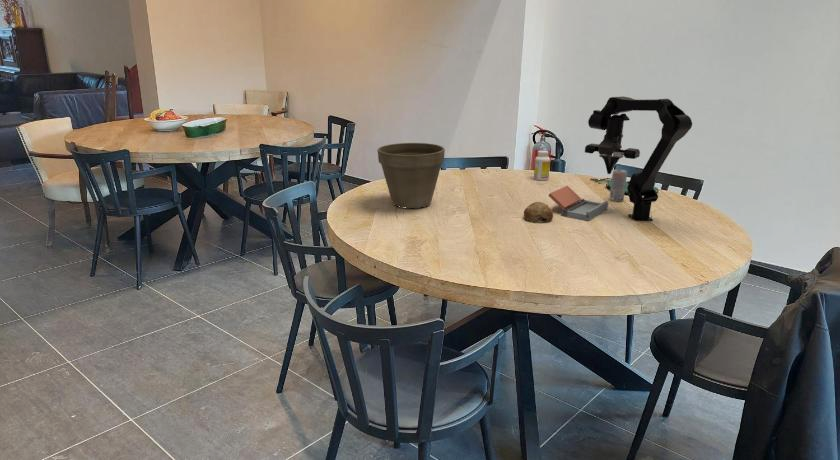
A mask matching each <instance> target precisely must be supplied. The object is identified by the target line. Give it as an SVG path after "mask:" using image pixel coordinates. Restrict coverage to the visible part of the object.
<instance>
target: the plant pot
mask: <svg viewBox="0 0 840 460" xmlns="http://www.w3.org/2000/svg"><path fill="white" fill-rule="evenodd" d="M445 151H446V149H445V147H444V146H442V145H439V144H435V143H434V144H433V143H427V142H426V143H425V142H401V143H391V144H387V145H382V146H380V147H379V148H377V151H376V152H377V159H378V163H379V164H380V165H381V168H382V173H383V175H384V179H385V182H386V185H387V189H388V192H389V195H390V199H391V202H392V205H394V204H395V205H397V206H400V207H406V208H418V209H422V208H421V207H424V208H427V207H428V206H430V205H431V204H432V201H433V198H434V194H435V190H436V186H437V183H438V178H439V174H440V170H441V167H442V164H443V163H444V161H445V153H446V152H445ZM395 205H394V206H395ZM397 206H396V207H397ZM426 206H427V207H426Z"/></svg>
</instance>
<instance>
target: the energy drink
mask: <svg viewBox="0 0 840 460" xmlns="http://www.w3.org/2000/svg"><path fill="white" fill-rule="evenodd" d="M611 175H612V176H611V178H612V182H611V181H610V182H611V188H610V189H609V190H610V192H609V198H608V199H609V200H610V201H611V202H617V203H621V202H623V201H624V198H625V194H626V193H625V185H626V181H627V176H628V172H627V170H626V169H619V168H618V169H617V168H616V169H613V170H612V173H611Z"/></svg>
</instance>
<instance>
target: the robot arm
mask: <svg viewBox="0 0 840 460" xmlns="http://www.w3.org/2000/svg"><path fill="white" fill-rule="evenodd" d="M592 111H593V112H592V114H591V115H590V117H589V118H588V121H587V123H588V127H589V128H591V129H595V130H599V131H600V130H601V131H605V134H604V136H603V139H602V141H601V142H600V143H589V144H586V146H585V147H584V153H586V154H594V153H595V152H598V154H599V157H600V158H601V159H602V160H603V161H604V164H605V168H606V173H607V175H612V173H613V171H614V168H615V167H616V164H617V163H618V162H619V160H620V159H622V158H625V159H633V160H634V159H637V158H639V157H641V156H640V155H641V151H640V149H639V148H633V147H632V148H631V147H628V148H626V149H622V147H623V146H622V140H623V139H622V138H624V134H623V133H624V131H623V130H624V122H626V121H630V117H629V116H628V115H627V114H626V113H628V112H632V111H637V112H638V111H649V112H653V111H654V112H655V111H656V113H657V115H658V119H659V121H660V122H661V124H662V128H661V137H660V139H659V141H658V143H657V144H656V146H655V148H654V149H653V151H652V153H651V155H650V157H649V158H648V159H647V162H646V163H645V165H644V167H643V168H642V170H641V171H640V172H637V173H632V175H631V177H630V179H629V182H628V187H627V190H628V193H629V194H628V199H629V202H630V203H632V204H633V209H632V213H629V214H628V217H630V218H631V219H632V220H634V221H638V222H640V221H642V222H643V221H648V222H649V221H654V219H653V218H652V217H651V216H650V215H651V210H652V209H651V208H652V203H655V202H657V201H658V199H659V195H658V193H657V191H655V190H654V189H653V188H654V187H655V186H656V185H655V184H656V176H657V174H658V173H659V171H660V169H661V168H662V166H663V165H664V163H665V162H666V160H667V158H668V156H669V155H670V153H671V151H672V150H673V148H674V146H675V145H676V143H677V142H678V141H680V140H681V139H682V138H683V137H685V136H686V135H687V134H688V133H689V132H690V130H691V129H692V127H693V122H692V118H691V117H690V116H689V115H687V114H686V113H685V112H684V110H683V109H682V108H679V106H677V105H675V103H673V101H672V100H671V99H669V98H658V99H635V98H632V97H629V96H611V97H609V98H608V100H607V101H606V104H605V105H604V107H603V108H601V110H598V109H596V110H592Z"/></svg>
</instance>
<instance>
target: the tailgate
mask: <svg viewBox="0 0 840 460" xmlns="http://www.w3.org/2000/svg"><path fill="white" fill-rule="evenodd" d="M548 197H549V198H550V200H552V201H553V202H554V203H555V204H556V205H557V206H558V207H560V208H561V210H562V209H564V208H565V209H566V208H568V207H570V206H572V205H573V204H575V203H577V202H579V201H581V199H582V198H581V197H580V196H579V195H578V194H577V193H576V192H575V191H574V190H573V189H572V188H571V187H570V186H569V185H566V186H565V185H564V187H561V188H559V189H556V190H555V191H552V192H550V193H549V194H548Z"/></svg>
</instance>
